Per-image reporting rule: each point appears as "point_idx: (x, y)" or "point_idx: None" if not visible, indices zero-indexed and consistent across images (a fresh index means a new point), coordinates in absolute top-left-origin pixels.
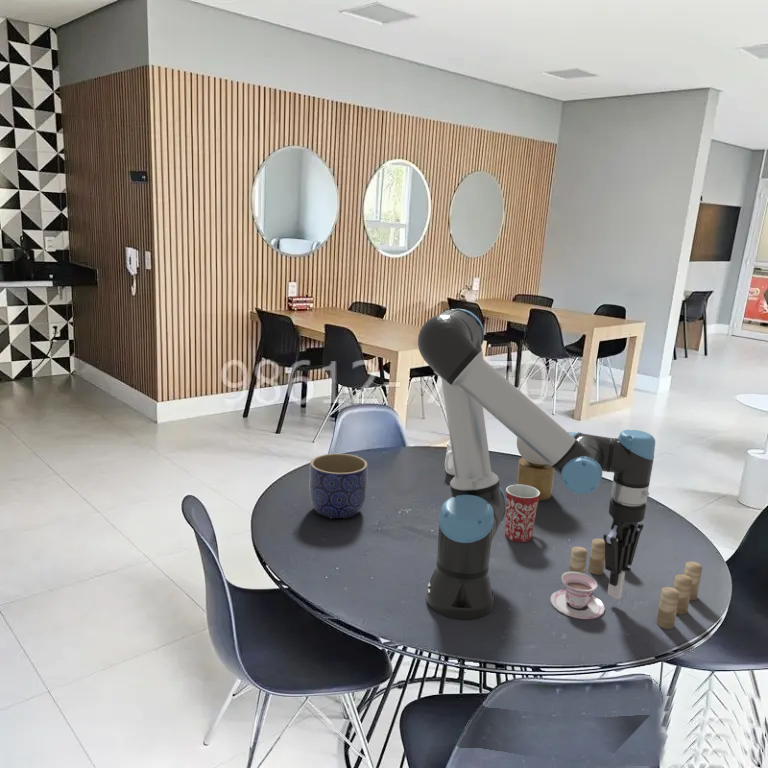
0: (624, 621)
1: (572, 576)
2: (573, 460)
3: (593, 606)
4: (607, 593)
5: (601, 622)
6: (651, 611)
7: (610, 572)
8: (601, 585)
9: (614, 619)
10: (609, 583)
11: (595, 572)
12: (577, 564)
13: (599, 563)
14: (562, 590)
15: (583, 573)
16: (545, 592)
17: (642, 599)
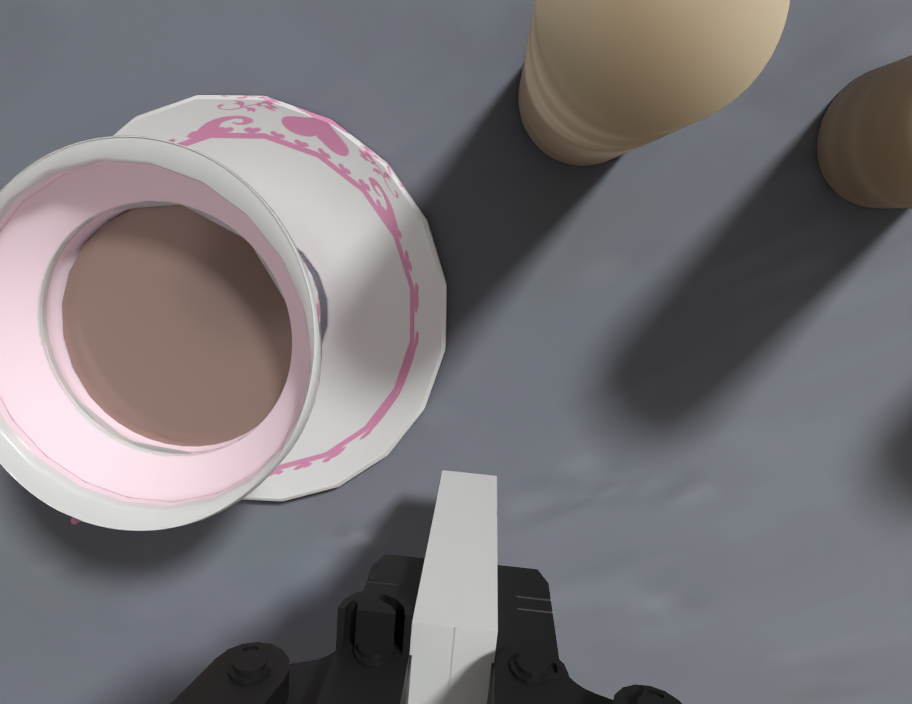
0: (329, 622)
1: (233, 207)
2: None
3: (325, 404)
4: (443, 474)
5: (194, 530)
6: None
7: (420, 590)
8: (671, 298)
9: (297, 571)
10: (385, 555)
11: (829, 165)
12: (533, 93)
13: (903, 182)
14: (311, 124)
15: (312, 295)
16: (192, 29)
17: (701, 599)
